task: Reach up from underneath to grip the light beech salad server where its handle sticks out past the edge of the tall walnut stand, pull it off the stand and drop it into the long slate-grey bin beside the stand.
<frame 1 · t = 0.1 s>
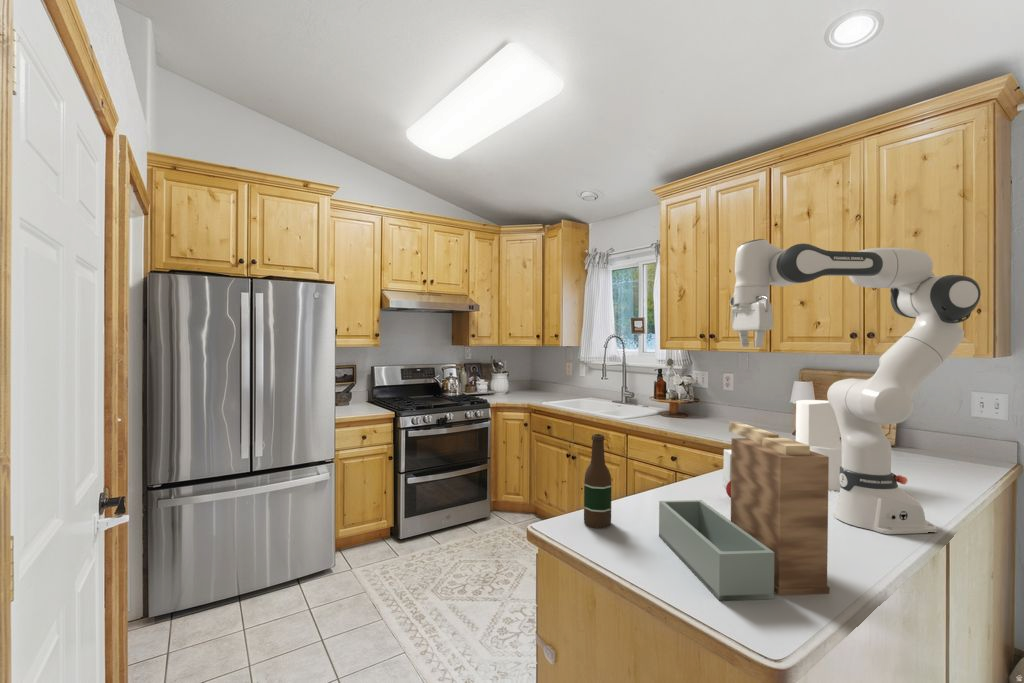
hand: (751, 347, 136), 48 cm above the counter, tool pointing down, fingers open, 8 cm apart
supplement box: (737, 490, 161), on the counter
white rectangular block: (823, 483, 168), on the counter
beer bottle: (597, 524, 130), on the counter
bin: (708, 563, 108), on the counter
stand: (774, 571, 104), on the counter
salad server: (733, 431, 121), point 27 cm above the counter, touching stand
red round fruit: (736, 502, 148), on the counter
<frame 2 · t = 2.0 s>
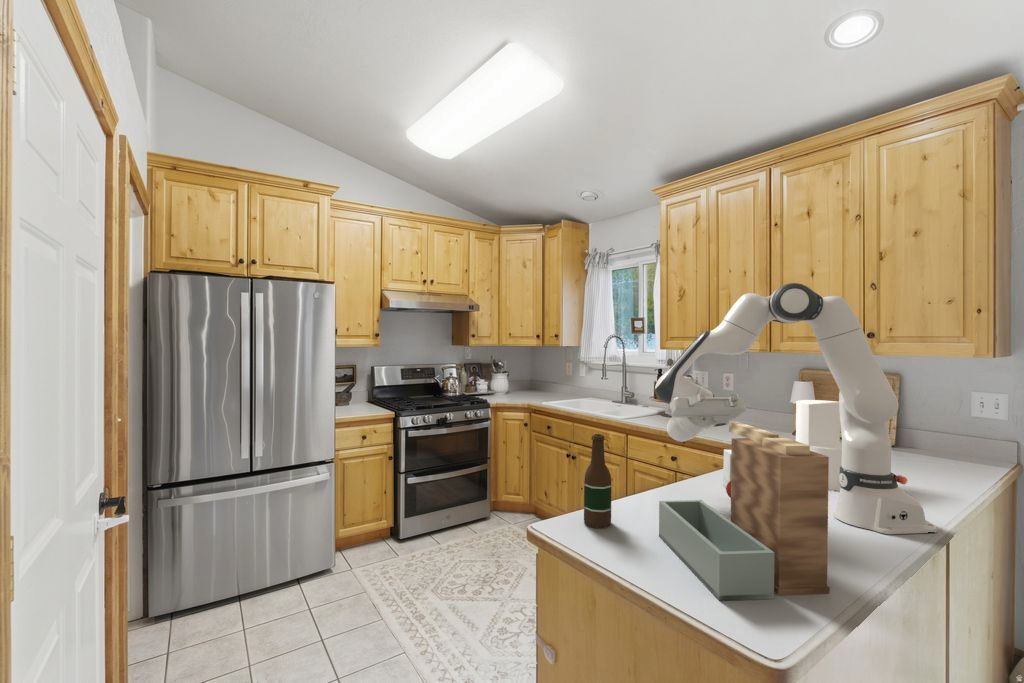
hand: (719, 396, 128), 35 cm above the counter, tool pointing upward, fingers open, 8 cm apart
nothing on the counter moved.
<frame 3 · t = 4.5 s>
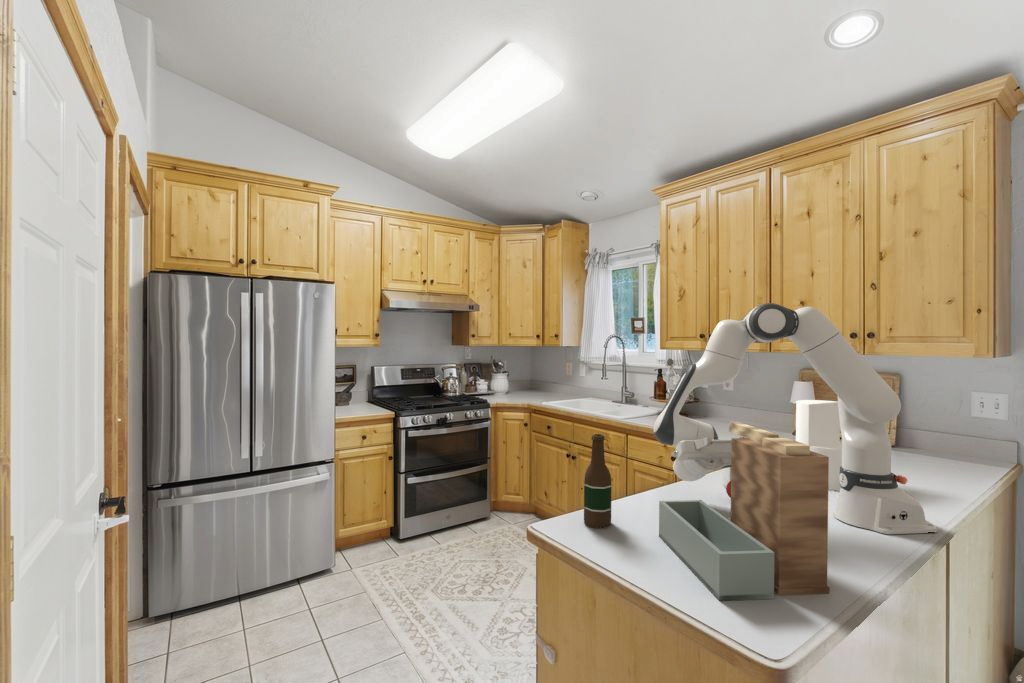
hand: (727, 440, 124), 24 cm above the counter, tool pointing upward, fingers open, 8 cm apart
nothing on the counter moved.
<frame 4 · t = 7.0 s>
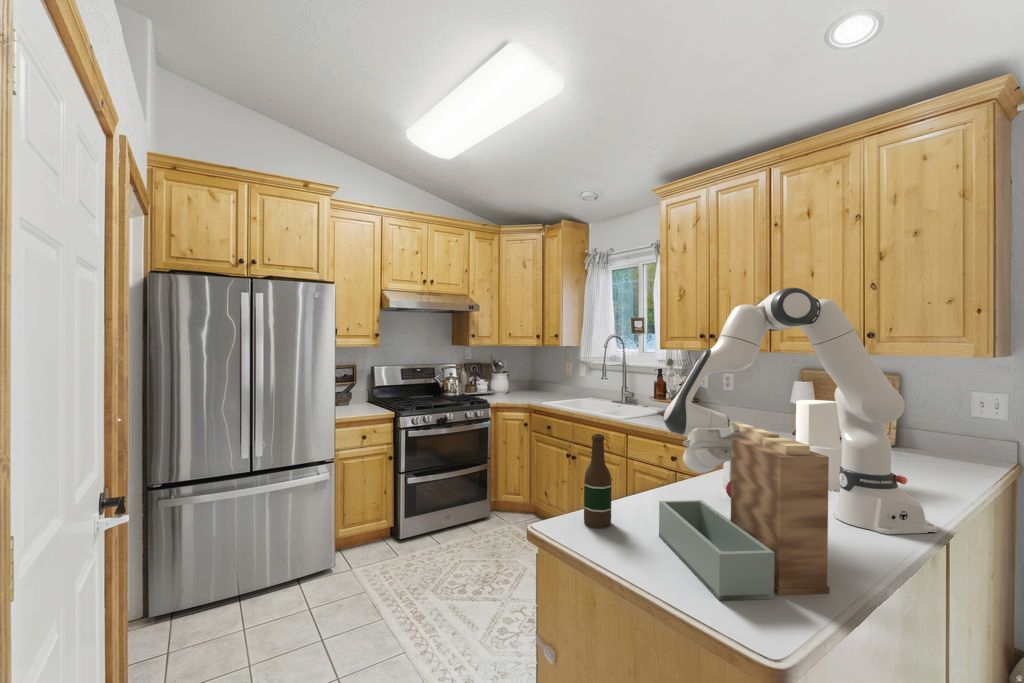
hand: (743, 427, 116), 29 cm above the counter, tool pointing upward, fingers closed on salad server, 2 cm apart
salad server: (733, 431, 121), point 27 cm above the counter, touching gripper, stand
everything else where it was.
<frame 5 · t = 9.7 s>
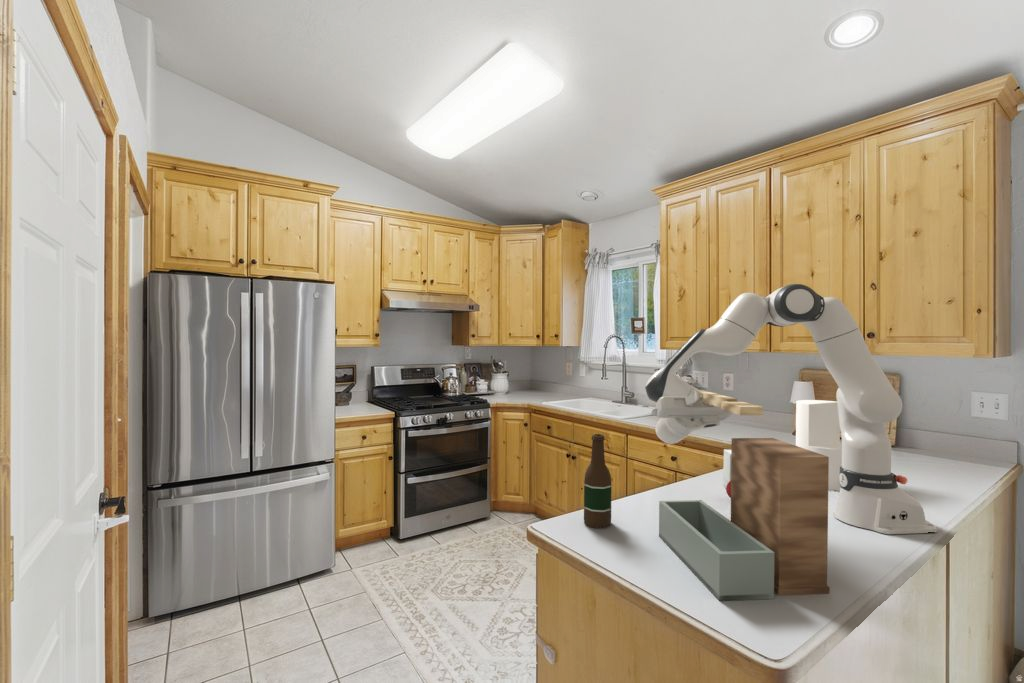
hand: (707, 395, 121), 36 cm above the counter, tool pointing upward, fingers closed on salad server, 2 cm apart
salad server: (699, 399, 125), point 34 cm above the counter, touching gripper
everything else where it was.
when the fingers open (20 cm above the counter, at t = 12.4 s): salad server drops 17 cm, resting on bin.
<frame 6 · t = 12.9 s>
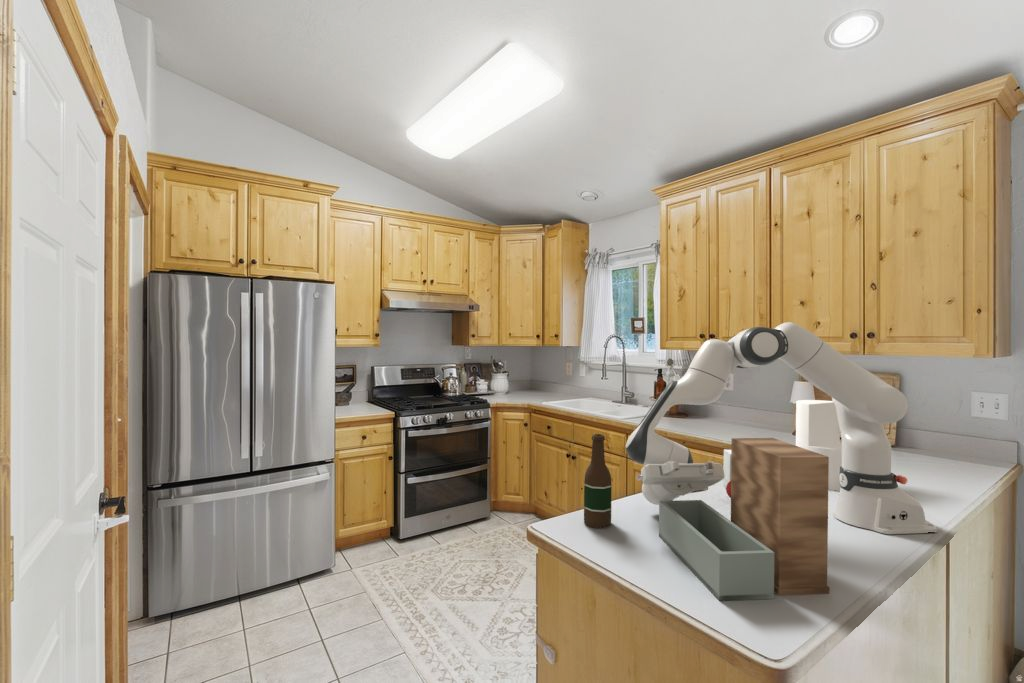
hand: (693, 465, 115), 20 cm above the counter, tool pointing upward, fingers open, 7 cm apart
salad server: (682, 535, 120), point 1 cm above the counter, touching bin
everything else where it was.
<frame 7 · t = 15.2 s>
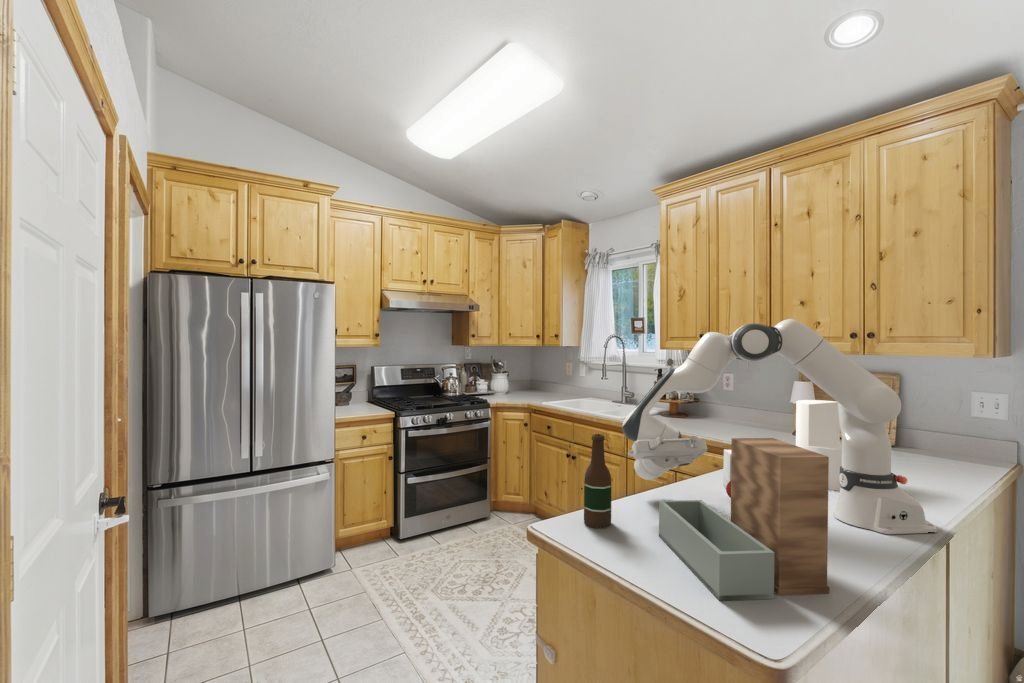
hand: (678, 439, 128), 23 cm above the counter, tool pointing upward, fingers open, 8 cm apart
nothing on the counter moved.
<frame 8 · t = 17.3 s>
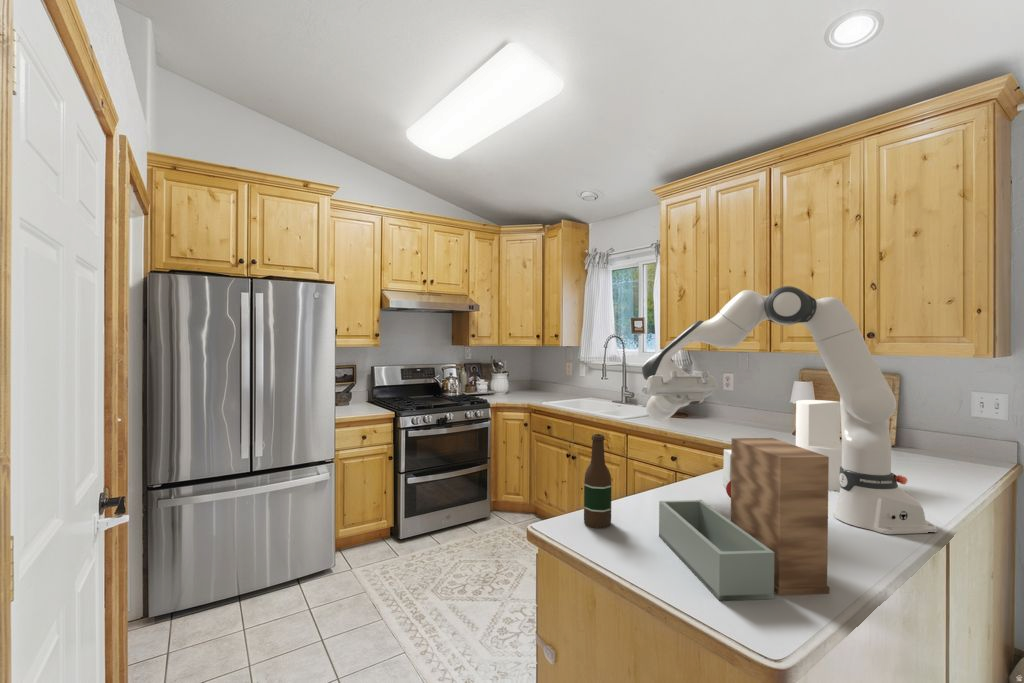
hand: (690, 373, 135), 40 cm above the counter, tool pointing upward, fingers open, 8 cm apart
nothing on the counter moved.
at the end: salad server inside the target area on the bin (12.9 cm from its centre), point 1.0 cm above the bin's base; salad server touching bin; the gripper is holding nothing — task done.
